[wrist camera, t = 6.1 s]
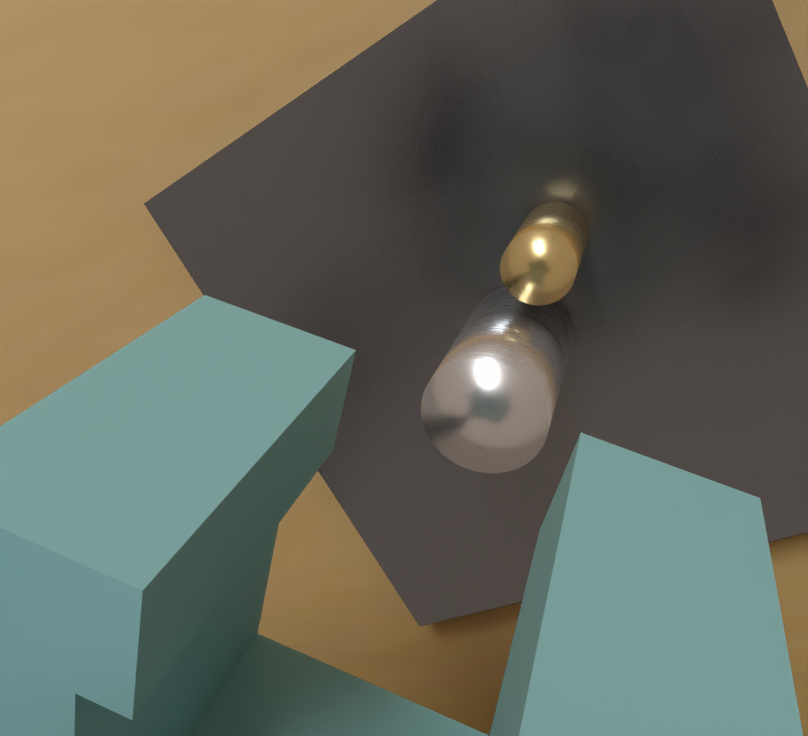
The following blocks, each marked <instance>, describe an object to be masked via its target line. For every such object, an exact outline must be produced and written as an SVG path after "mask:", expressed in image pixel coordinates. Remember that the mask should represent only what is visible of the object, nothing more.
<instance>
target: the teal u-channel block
mask: <svg viewBox="0 0 808 736" xmlns="http://www.w3.org/2000/svg"><path fill="white" fill-rule="evenodd" d="M355 352H356V350H354V349H351V348H349V347H346V346H343V345H340V344H338V343H335V342H332V341H330V340H327V339H324V338H321V337H319V336H316V335H313V334H310V333H308V332H305V331H302V330H299V329H297V328H294V327H291V326H289V325H286V324H283V323H280V322H278V321H275V320H272V319H269V318H267V317H264V316H261V315H258V314H256V313H253V312H250V311H248V310H245V309H242V308H239V307H237V306H234V305H231V304H228V303H226V302H223V301H220V300H217V299H215V298H212V297H209V296H207V295H204V296H202V297H201V298H199V299H198V300H196V301H195V302H193V303H191V304H190V305H188V306H187V307H185V308H184V309H182V310H181V311H179V312H177V313H176V314H174V315H173V316H171V317H170V318H168V319H167V320H165V321H163V322H162V323H160V324H159V325H157V326H156V327H154V328H153V329H151V330H149V331H148V332H146V333H145V334H143V335H142V336H140V337H139V338H137V339H135V340H134V341H132V342H131V343H129V344H128V345H126V346H125V347H123V348H121V349H120V350H118V351H117V352H115V353H114V354H112V355H111V356H109V357H107V358H106V359H104V360H103V361H101V362H100V363H98V364H97V365H95V366H93V367H92V368H90V369H89V370H87V371H86V372H84V373H83V374H81V375H79V376H78V377H76V378H75V379H73V380H72V381H70V382H69V383H67V384H65V385H64V386H62V387H61V388H59V389H58V390H56V391H55V392H53V393H51V394H50V395H48V396H47V397H45V398H44V399H42V400H41V401H39V402H37V403H36V404H34V405H33V406H31V407H30V408H28V409H27V410H25V411H23V412H22V413H20V414H19V415H17V416H16V417H14V418H13V419H11V420H9V421H8V422H6V423H5V424H3V425H2V426H0V736H803V732H802V727H801V721H800V716H799V710H798V705H797V699H796V694H795V688H794V682H793V677H792V671H791V666H790V660H789V655H788V649H787V644H786V638H785V632H784V627H783V621H782V616H781V610H780V605H779V599H778V594H777V588H776V582H775V577H774V571H773V566H772V560H771V555H770V549H769V544H768V538H767V532H766V527H765V521H764V516H763V510H762V505H761V499H760V498H759V497H756V496H753V495H750V494H748V493H745V492H742V491H739V490H737V489H734V488H731V487H729V486H726V485H723V484H720V483H718V482H715V481H712V480H709V479H707V478H704V477H701V476H698V475H696V474H693V473H690V472H688V471H685V470H682V469H679V468H677V467H674V466H671V465H668V464H666V463H663V462H660V461H657V460H655V459H652V458H649V457H647V456H644V455H641V454H638V453H636V452H633V451H630V450H627V449H625V448H622V447H619V446H616V445H614V444H611V443H608V442H606V441H603V440H600V439H597V438H595V437H592V436H589V435H586V434H584V433H580V436H579V438H578V440H577V443H576V445H575V448H574V450H573V452H572V455H571V457H570V459H569V462H568V464H567V466H566V469H565V471H564V474H563V476H562V478H561V481H560V483H559V485H558V488H557V490H556V492H555V495H554V497H553V500H552V502H551V504H550V507H549V509H548V511H547V514H546V516H545V518H544V521H543V523H542V526H541V528H540V531H539V535H538V539H537V543H536V547H535V551H534V555H533V559H532V563H531V567H530V572H529V576H528V580H527V584H526V588H525V592H524V596H523V600H522V604H521V608H520V613H519V617H518V621H517V625H516V629H515V633H514V637H513V641H512V645H511V649H510V654H509V658H508V662H507V666H506V670H505V674H504V678H503V682H502V686H501V690H500V694H499V699H498V703H497V707H496V711H495V715H494V719H493V723H492V727H491V731H490V735H487V734H485V733H482V732H480V731H478V730H475V729H473V728H471V727H469V726H466V725H464V724H462V723H460V722H457V721H455V720H453V719H450V718H448V717H446V716H444V715H441V714H439V713H437V712H435V711H432V710H430V709H428V708H425V707H423V706H421V705H419V704H416V703H414V702H412V701H410V700H407V699H405V698H403V697H400V696H398V695H396V694H394V693H391V692H389V691H387V690H385V689H382V688H380V687H378V686H375V685H373V684H371V683H369V682H366V681H364V680H362V679H360V678H357V677H355V676H353V675H350V674H348V673H346V672H344V671H341V670H339V669H337V668H335V667H332V666H330V665H328V664H325V663H323V662H321V661H319V660H316V659H314V658H312V657H310V656H307V655H305V654H303V653H300V652H298V651H296V650H294V649H291V648H289V647H287V646H285V645H282V644H280V643H278V642H275V641H273V640H271V639H269V638H266V637H264V636H262V635H260V634H257V633H258V628H259V623H260V617H261V612H262V607H263V602H264V597H265V592H266V586H267V581H268V576H269V571H270V566H271V561H272V555H273V550H274V545H275V540H276V535H277V530H278V524H279V522H280V521H281V519H282V518H283V517H284V515H285V514H286V513H287V511H288V510H289V509H290V507H291V506H292V505H293V503H294V502H295V500H296V499H297V498H298V496H299V495H300V494H301V492H302V491H303V490H304V488H305V487H306V486H307V484H308V483H309V482H310V480H311V479H312V478H313V476H314V475H315V474H316V472H317V471H318V469H319V468H320V467H321V465H322V464H323V463H324V461H325V460H326V459H327V457H328V456H329V455H330V453H331V452H332V451H333V449H334V445H335V440H336V436H337V431H338V427H339V423H340V418H341V414H342V409H343V405H344V401H345V396H346V392H347V387H348V383H349V379H350V374H351V370H352V365H353V361H354V356H355Z"/></svg>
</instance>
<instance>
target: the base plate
mask: <svg viewBox="0 0 808 736" xmlns="http://www.w3.org/2000/svg"><path fill="white" fill-rule="evenodd" d="M144 204H145V206H146V208H147V209H148V211H149V212H150V214H151V215H152V217H153V218H154V220H155V221H156V223H157V224H158V226H159V227H160V229H161V231H162V232H163V234H164V235H165V237H166V238H167V240H168V241H169V243H170V244H171V246H172V247H173V249H174V250H175V252H176V254H177V255H178V257H179V258H180V260H181V261H182V263H183V264H184V266H185V267H186V269H187V270H188V272H189V273H190V275H191V277H192V278H193V280H194V281H195V283H196V284H197V286H198V287H199V289H200V290H201V292H202V293H203V295H207V296H209V297H212V298H215V299H217V300H220V301H223V302H226V303H228V304H231V305H234V306H237V307H239V308H242V309H245V310H248V311H250V312H253V313H256V314H258V315H261V316H264V317H267V318H269V319H272V320H275V321H278V322H280V323H283V324H286V325H289V326H291V327H294V328H297V329H299V330H302V331H305V332H308V333H310V334H313V335H316V336H319V337H321V338H324V339H327V340H330V341H332V342H335V343H338V344H340V345H343V346H346V347H349V348H351V349H354V350H356V352H355V356H354V361H353V365H352V370H351V374H350V379H349V383H348V387H347V392H346V396H345V401H344V405H343V409H342V414H341V418H340V423H339V427H338V431H337V436H336V440H335V445H334V449H333V451H332V452H331V453H330V455H329V456H328V457H327V459H326V460H325V461H324V463H323V464H322V465H321V467H320V468H319V469H318V471H319V473H320V474H321V476H322V477H323V479H324V480H325V482H326V483H327V485H328V487H329V488H330V490H331V491H332V493H333V494H334V496H335V497H336V499H337V500H338V502H339V503H340V505H341V506H342V508H343V509H344V511H345V513H346V514H347V516H348V517H349V519H350V520H351V522H352V523H353V525H354V526H355V528H356V529H357V531H358V532H359V534H360V536H361V537H362V539H363V540H364V542H365V543H366V545H367V546H368V548H369V549H370V551H371V552H372V554H373V555H374V557H375V559H376V560H377V562H378V563H379V565H380V566H381V568H382V569H383V571H384V572H385V574H386V575H387V577H388V578H389V580H390V582H391V583H392V585H393V586H394V588H395V589H396V591H397V592H398V594H399V595H400V597H401V598H402V600H403V601H404V603H405V605H406V606H407V608H408V609H409V611H410V612H411V614H412V615H413V617H414V618H415V620H416V621H417V623H418V624H419V626H423V625H427V624H431V623H435V622H439V621H444V620H448V619H452V618H456V617H460V616H464V615H468V614H472V613H477V612H481V611H485V610H489V609H493V608H497V607H501V606H505V605H510V604H514V603H518V602H522V600H523V596H524V592H525V588H526V584H527V580H528V576H529V572H530V567H531V563H532V559H533V555H534V551H535V547H536V543H537V539H538V535H539V531H540V528H541V526H542V523H543V521H544V518H545V516H546V514H547V511H548V509H549V507H550V504H551V502H552V500H553V497H554V495H555V492H556V490H557V488H558V485H559V483H560V481H561V478H562V476H563V474H564V471H565V469H566V466H567V464H568V462H569V459H570V457H571V455H572V452H573V450H574V448H575V445H576V443H577V440H578V438H579V436H580V433H584V434H586V435H589V436H592V437H595V438H597V439H600V440H603V441H606V442H608V443H611V444H614V445H616V446H619V447H622V448H625V449H627V450H630V451H633V452H636V453H638V454H641V455H644V456H647V457H649V458H652V459H655V460H657V461H660V462H663V463H666V464H668V465H671V466H674V467H677V468H679V469H682V470H685V471H688V472H690V473H693V474H696V475H698V476H701V477H704V478H707V479H709V480H712V481H715V482H718V483H720V484H723V485H726V486H729V487H731V488H734V489H737V490H739V491H742V492H745V493H748V494H750V495H753V496H756V497H759V498H760V499H761V505H762V510H763V516H764V521H765V527H766V532H767V538H768V542H770V541H774V540H778V539H782V538H786V537H790V536H794V535H798V534H803V533H807V532H808V88H807V85H806V83H805V80H804V78H803V76H802V73H801V71H800V68H799V66H798V63H797V61H796V58H795V56H794V53H793V51H792V48H791V46H790V43H789V41H788V39H787V36H786V34H785V31H784V29H783V26H782V24H781V21H780V19H779V16H778V14H777V11H776V9H775V7H774V4H773V2H772V0H437V1H435V2H434V3H432V4H431V5H430V6H428V7H427V8H425V9H424V10H422V11H421V12H419V13H418V14H417V15H415V16H414V17H412V18H411V19H409V20H408V21H407V22H405V23H404V24H402V25H401V26H399V27H398V28H396V29H395V30H394V31H392V32H391V33H389V34H388V35H386V36H385V37H383V38H382V39H381V40H379V41H378V42H376V43H375V44H373V45H372V46H370V47H369V48H368V49H366V50H365V51H363V52H362V53H360V54H359V55H358V56H356V57H355V58H353V59H352V60H350V61H349V62H347V63H346V64H345V65H343V66H342V67H340V68H339V69H337V70H336V71H334V72H333V73H332V74H330V75H329V76H327V77H326V78H324V79H323V80H322V81H320V82H319V83H317V84H316V85H314V86H313V87H311V88H310V89H309V90H307V91H306V92H304V93H303V94H301V95H300V96H298V97H297V98H296V99H294V100H293V101H291V102H290V103H288V104H287V105H286V106H284V107H283V108H281V109H280V110H278V111H277V112H275V113H274V114H273V115H271V116H270V117H268V118H267V119H265V120H264V121H262V122H261V123H260V124H258V125H257V126H255V127H254V128H252V129H251V130H250V131H248V132H247V133H245V134H244V135H242V136H241V137H239V138H238V139H237V140H235V141H234V142H232V143H231V144H229V145H228V146H226V147H225V148H224V149H222V150H221V151H219V152H218V153H216V154H215V155H214V156H212V157H211V158H209V159H208V160H206V161H205V162H203V163H202V164H201V165H199V166H198V167H196V168H195V169H193V170H192V171H190V172H189V173H188V174H186V175H185V176H183V177H182V178H180V179H179V180H178V181H176V182H175V183H173V184H172V185H170V186H169V187H167V188H166V189H165V190H163V191H162V192H160V193H159V194H157V195H156V196H154V197H153V198H152V199H150V200H149V201H147V202H146V203H144Z"/></svg>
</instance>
